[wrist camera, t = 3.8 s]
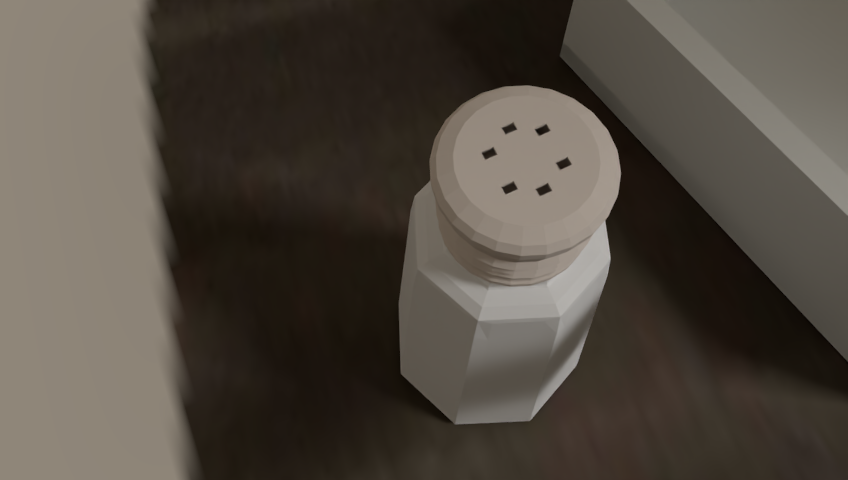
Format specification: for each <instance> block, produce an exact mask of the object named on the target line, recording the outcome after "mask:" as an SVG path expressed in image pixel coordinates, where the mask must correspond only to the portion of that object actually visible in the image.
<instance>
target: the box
mask: <svg viewBox="0 0 848 480" xmlns="http://www.w3.org/2000/svg"><path fill="white" fill-rule="evenodd" d="M560 57H561V58H562V59H563V60H564V61H565V62H566V63H567V64H568V66H569V67H570V68H571V69H572V70H573V71H574V72H575V73H576V74H577V75H578V76H579V77H580V78H581V79H582V80H583V81H584V82H585V84H586V85H587V86H588V87H589V88H590V89H591V90H592V91H593V92H594V93H595V94H596V95H597V96H598V97H599V98H600V99H601V101H602V102H603V103H604V104H605V105H606V106H607V107H608V108H609V109H610V110H611V111H612V112H613V113H614V114H615V115H616V116H617V118H618V119H619V120H620V121H621V122H622V123H623V124H624V125H625V126H626V127H627V128H628V129H629V130H630V131H631V132H632V133H633V134H634V136H635V137H636V138H637V139H638V140H639V141H640V142H641V143H642V144H643V145H644V146H645V147H646V148H647V149H648V150H649V151H650V153H651V154H652V155H653V156H654V157H655V158H656V159H657V160H658V161H659V162H660V163H661V164H662V165H663V166H664V167H665V168H666V169H667V171H668V172H669V173H670V174H671V175H672V176H673V177H674V178H675V179H676V180H677V181H678V182H679V183H680V184H681V185H682V186H683V188H684V189H685V190H686V191H687V192H688V193H689V194H690V195H691V196H692V197H693V198H694V199H695V200H696V201H697V202H698V203H699V204H700V206H701V207H702V208H703V209H704V210H705V211H706V212H707V213H708V214H709V215H710V216H711V217H712V218H713V219H714V220H715V221H716V223H717V224H718V225H719V226H720V227H721V228H722V229H723V230H724V231H725V232H726V233H727V234H728V235H729V236H730V237H731V238H732V239H733V241H734V242H735V243H736V244H737V245H738V246H739V247H740V248H741V249H742V250H743V251H744V252H745V253H746V254H747V255H748V256H749V258H750V259H751V260H752V261H753V262H754V263H755V264H756V265H757V266H758V267H759V268H760V269H761V270H762V271H763V272H764V273H765V275H766V276H767V277H768V278H769V279H770V280H771V281H772V282H773V283H774V284H775V285H776V286H777V287H778V288H779V289H780V290H781V291H782V293H783V294H784V295H785V296H786V297H787V298H788V299H789V300H790V301H791V302H792V303H793V304H794V305H795V306H796V307H797V308H798V310H799V311H800V312H801V313H802V314H803V315H804V316H805V317H806V318H807V319H808V320H809V321H810V322H811V323H812V324H813V325H814V326H815V328H816V329H817V330H818V331H819V332H820V333H821V334H822V335H823V336H824V337H825V338H826V339H827V340H828V341H829V342H830V343H831V345H832V346H833V347H834V348H835V349H836V350H837V351H838V352H839V353H840V354H841V355H842V356H843V357H844V358H845V359H846V360H847V361H848V0H573V4H572V8H571V12H570V16H569V20H568V24H567V28H566V32H565V36H564V40H563V44H562V48H561V52H560Z"/></svg>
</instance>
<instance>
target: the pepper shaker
mask: <svg viewBox="0 0 848 480" xmlns="http://www.w3.org/2000/svg"><path fill="white" fill-rule="evenodd" d="M620 177H621V169H620V163H619V157H618V151H617V148H616V146H615V144H614V142H613V140H612V138H611V136H610V134H609V132H608V130H607V129H606V127H605V126H604V125H603V124H602V123H601V121H600V120H599V119H598V118H597V117H596V116H595V114H594V113H593V112H592V111H590V110H589V109H587V108H586V107H585V106H583V105H582V104H580V103H579V102H578V101H576V100H575V99H573V98H571V97H569V96H566V95H564V94H561V93H559V92H557V91H554V90H552V89H546V88H540V87H535V86H529V85H525V86H506V87H501V88H497V89H494V90H491V91H487V92H484V93H481V94H479V95H477V96H476V97H474V98H472V99H470V100H469V101H467V102H465V103H463V104H462V105H461V106H460V107H459V108H458V109H457V110H455V111H454V112H453V113H452V114H451V115H450V116H449V117H448V118H447V119H446V120H445V122H444V124H443V126H442V127H441V129H440V131H439V132H438V134H437V136H436V138H435V140H434V144H433V148H432V152H431V156H430V181H429V182H428V183H427V184H426V185H425V186H424V187H423V188H422V189H421V190H420V191H419V192H418V193H417V194H416V195H415V197H414V201H413V204H412V208H411V213H410V220H409V228H408V236H407V243H406V251H405V259H404V266H403V274H402V282H401V289H400V297H399V333H400V368H401V375H402V376H404V377H405V378H406V379H407V380H408V381H409V382H410V383H411V384H412V385H413V386H414V387H415V388H416V389H418V390H419V391H420V392H421V393H422V394H423V395H424V396H425V397H426V398H427V399H428V400H429V401H430V402H432V403H433V404H434V405H435V406H436V407H437V408H438V409H439V410H440V411H441V412H442V413H443V414H444V415H446V416H447V417H448V418H449V419H450V420H451V421H452V422H453V423H454V424H473V423H495V422H516V421H530V420H531V419H532V418H533V417H534V415H535V414H536V413H537V412H538V411H539V409H540V408H541V407H542V406H543V405H544V403H545V402H546V401H547V400H548V399H549V398H550V396H551V395H552V394H553V393H554V392H555V390H556V389H557V388H558V387H559V386H560V385H561V383H562V382H563V381H564V380H565V379H566V377H567V376H568V375H569V374H570V373H571V371H572V370H573V369H574V368H575V367H576V365H577V363H578V360H579V357H580V354H581V351H582V348H583V345H584V342H585V339H586V336H587V334H588V331H589V328H590V325H591V322H592V319H593V316H594V313H595V310H596V307H597V304H598V301H599V299H600V296H601V293H602V290H603V287H604V284H605V281H606V278H607V275H608V270H609V265H610V260H611V258H610V250H609V243H608V236H607V230H606V223H605V220H606V219H607V217H608V216H609V214H610V211H611V209H612V207H613V205H614V203H615V201H616V198H617V196H618V192H619V184H620Z"/></svg>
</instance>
